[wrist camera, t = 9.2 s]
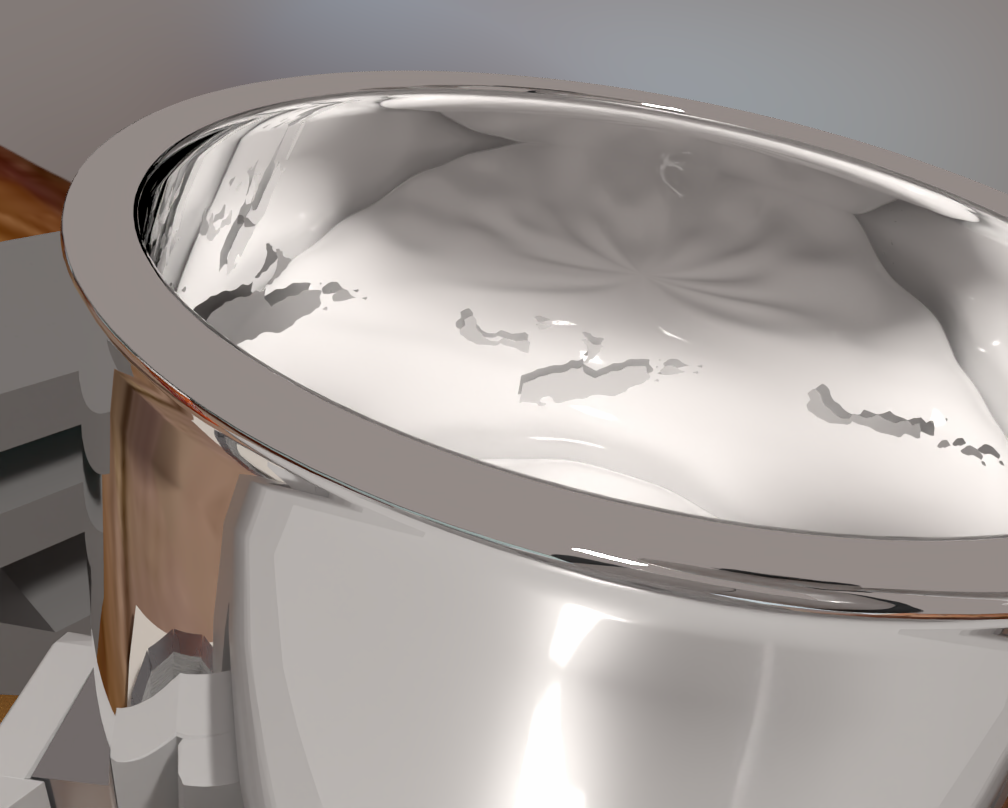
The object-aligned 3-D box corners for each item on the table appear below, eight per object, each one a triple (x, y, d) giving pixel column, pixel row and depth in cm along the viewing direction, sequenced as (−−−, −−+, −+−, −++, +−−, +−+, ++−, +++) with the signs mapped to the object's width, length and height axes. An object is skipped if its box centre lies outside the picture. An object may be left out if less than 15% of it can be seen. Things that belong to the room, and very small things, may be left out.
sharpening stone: (360, 390, 42) (376, 173, 36) (477, 468, 38) (516, 240, 32) (-303, 660, 25) (-477, 328, 19) (-213, 853, 21) (-394, 511, 15)
